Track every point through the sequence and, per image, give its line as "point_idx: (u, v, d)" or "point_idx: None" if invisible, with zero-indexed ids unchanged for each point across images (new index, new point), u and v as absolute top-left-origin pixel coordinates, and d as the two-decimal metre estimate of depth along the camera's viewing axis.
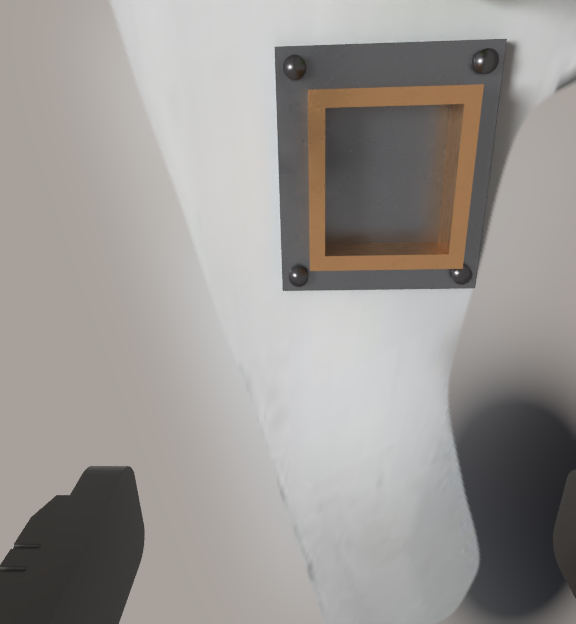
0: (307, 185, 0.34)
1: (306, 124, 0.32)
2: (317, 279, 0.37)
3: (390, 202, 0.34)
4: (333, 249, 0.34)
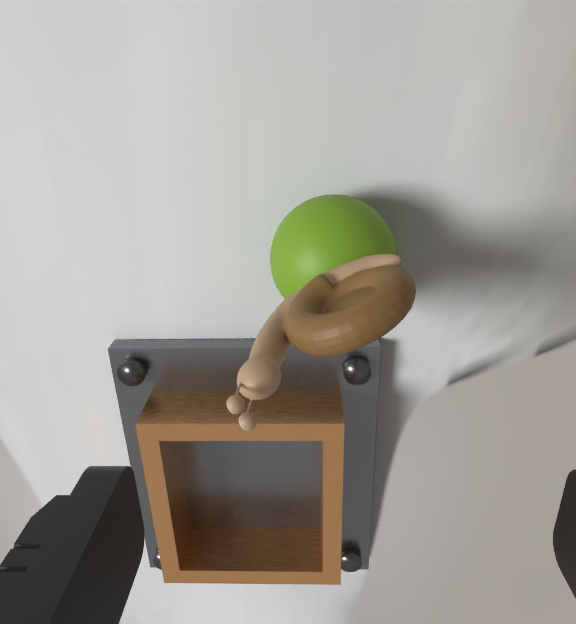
0: None
1: None
2: None
3: (262, 492, 0.29)
4: (196, 547, 0.29)
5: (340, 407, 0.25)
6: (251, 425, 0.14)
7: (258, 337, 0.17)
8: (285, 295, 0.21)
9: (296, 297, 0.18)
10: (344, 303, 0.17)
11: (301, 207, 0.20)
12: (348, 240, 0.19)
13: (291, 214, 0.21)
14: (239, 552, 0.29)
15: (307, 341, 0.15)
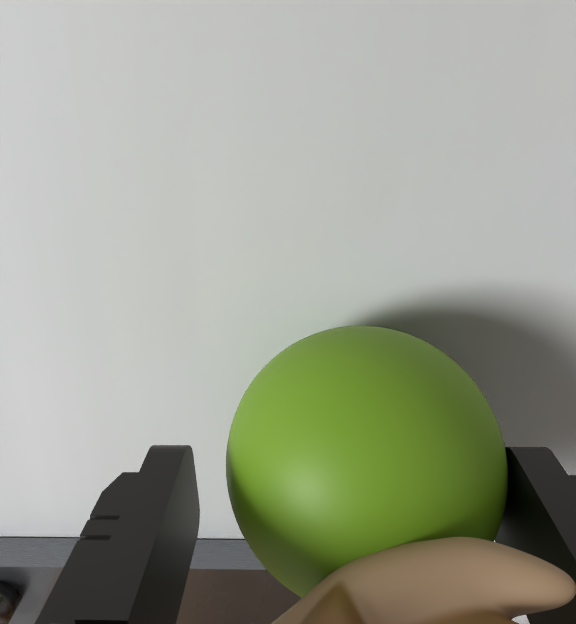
0: None
1: None
2: None
3: None
4: None
5: None
6: None
7: None
8: None
9: None
10: None
11: (294, 369, 0.09)
12: (412, 483, 0.07)
13: (270, 382, 0.09)
14: None
15: None
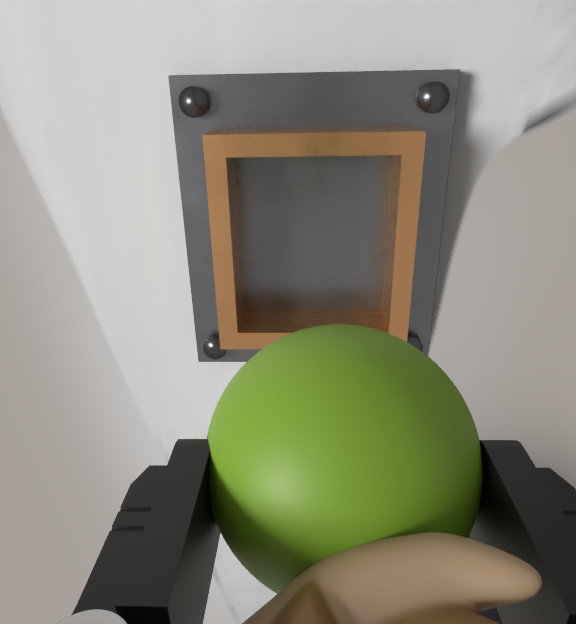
0: None
1: None
2: (238, 350, 0.31)
3: (322, 263, 0.28)
4: (252, 320, 0.28)
5: (417, 129, 0.23)
6: None
7: None
8: None
9: None
10: None
11: (270, 368, 0.09)
12: (384, 479, 0.08)
13: (247, 381, 0.09)
14: (298, 322, 0.28)
15: None
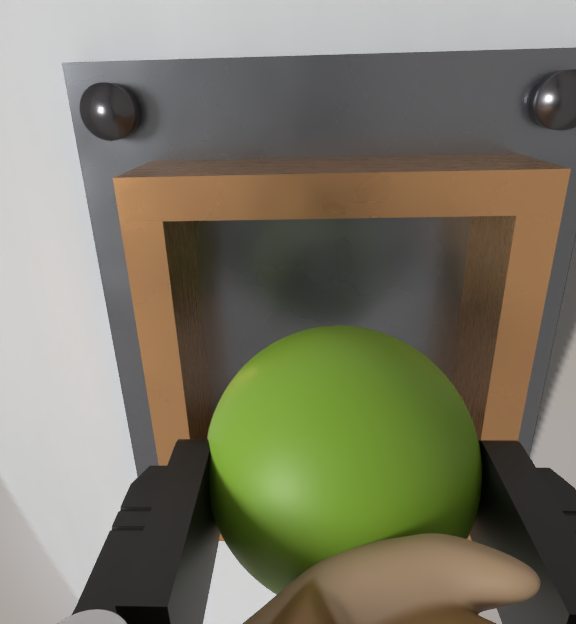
0: None
1: None
2: None
3: None
4: None
5: (539, 161, 0.12)
6: None
7: None
8: None
9: None
10: None
11: (269, 369, 0.09)
12: (383, 481, 0.08)
13: (246, 382, 0.09)
14: None
15: None
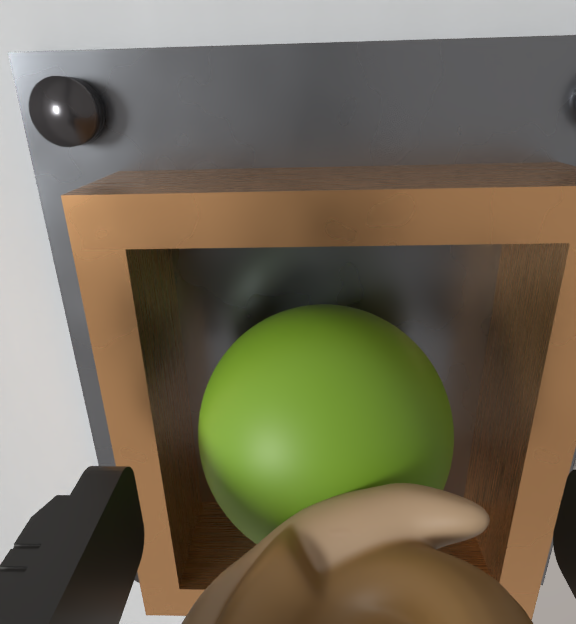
0: None
1: None
2: None
3: None
4: (214, 540, 0.14)
5: None
6: None
7: None
8: None
9: None
10: None
11: (255, 342, 0.10)
12: (355, 437, 0.08)
13: (234, 355, 0.10)
14: None
15: None
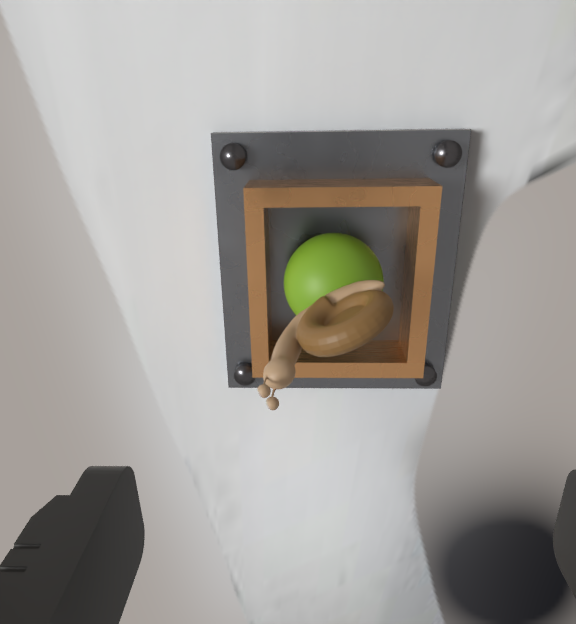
0: None
1: None
2: None
3: None
4: None
5: (434, 182, 0.26)
6: (275, 406, 0.20)
7: (277, 343, 0.22)
8: (296, 312, 0.27)
9: (305, 313, 0.23)
10: (341, 318, 0.22)
11: (308, 243, 0.26)
12: (345, 269, 0.25)
13: (300, 249, 0.26)
14: None
15: (314, 345, 0.21)
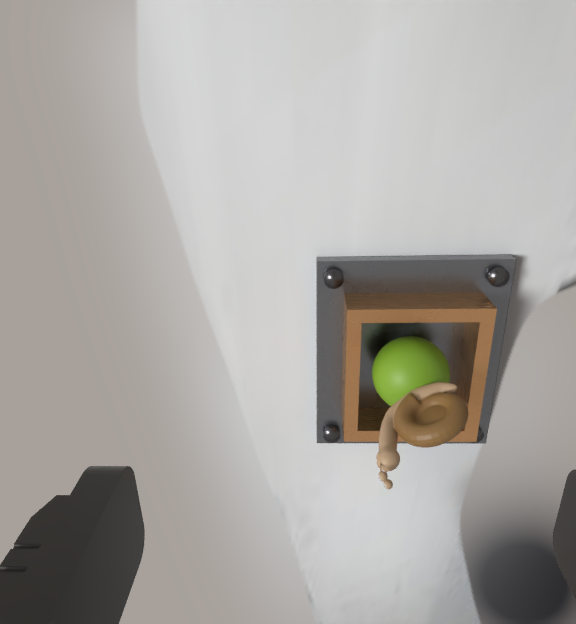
0: (341, 363, 0.39)
1: (341, 318, 0.38)
2: None
3: None
4: (363, 418, 0.39)
5: (488, 301, 0.35)
6: (390, 486, 0.29)
7: (382, 434, 0.31)
8: (384, 398, 0.35)
9: (400, 409, 0.32)
10: (429, 416, 0.31)
11: (394, 348, 0.35)
12: (425, 372, 0.33)
13: (387, 351, 0.35)
14: None
15: (413, 440, 0.30)
